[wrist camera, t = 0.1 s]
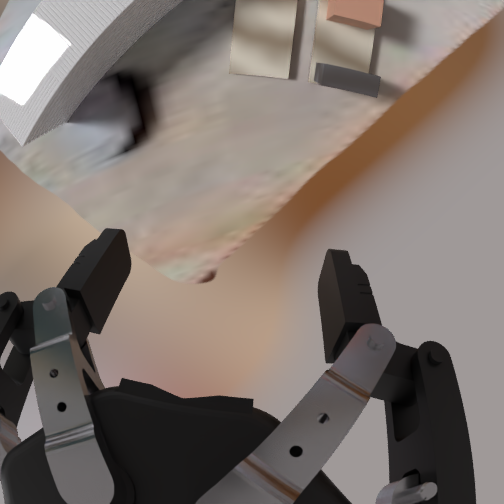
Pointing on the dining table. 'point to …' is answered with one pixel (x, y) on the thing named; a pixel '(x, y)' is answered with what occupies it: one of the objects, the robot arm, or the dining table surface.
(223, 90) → the dining table surface
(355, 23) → the terracotta block
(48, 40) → the light grey block
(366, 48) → the unbroken strip
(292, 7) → the broken strip
